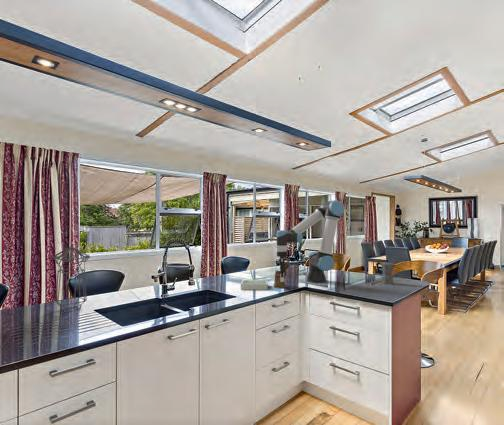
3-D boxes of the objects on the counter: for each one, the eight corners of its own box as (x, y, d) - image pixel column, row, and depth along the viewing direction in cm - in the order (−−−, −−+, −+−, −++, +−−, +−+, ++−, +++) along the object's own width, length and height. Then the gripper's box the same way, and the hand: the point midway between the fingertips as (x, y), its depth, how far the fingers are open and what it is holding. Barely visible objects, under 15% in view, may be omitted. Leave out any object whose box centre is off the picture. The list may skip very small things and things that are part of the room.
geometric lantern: (79, 304, 190) (79, 245, 191) (91, 309, 180) (91, 246, 181) (49, 310, 178) (50, 247, 179) (60, 315, 168) (61, 248, 169)
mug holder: (267, 285, 240) (267, 280, 240) (267, 289, 226) (267, 284, 226) (242, 285, 241) (242, 280, 242) (240, 289, 227) (240, 283, 228)
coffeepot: (398, 283, 244) (398, 260, 245) (393, 285, 238) (393, 261, 238) (378, 280, 255) (378, 258, 256) (373, 282, 249) (373, 259, 249)
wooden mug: (292, 286, 237) (292, 261, 238) (278, 288, 230) (278, 263, 230) (285, 284, 245) (285, 260, 245) (271, 286, 237) (270, 262, 238)
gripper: (276, 249, 251) (276, 276, 250) (276, 252, 226) (277, 283, 225) (286, 249, 250) (286, 276, 250) (287, 252, 225) (287, 283, 225)
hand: (282, 279), depth 237 cm, fingers open, 13 cm apart
